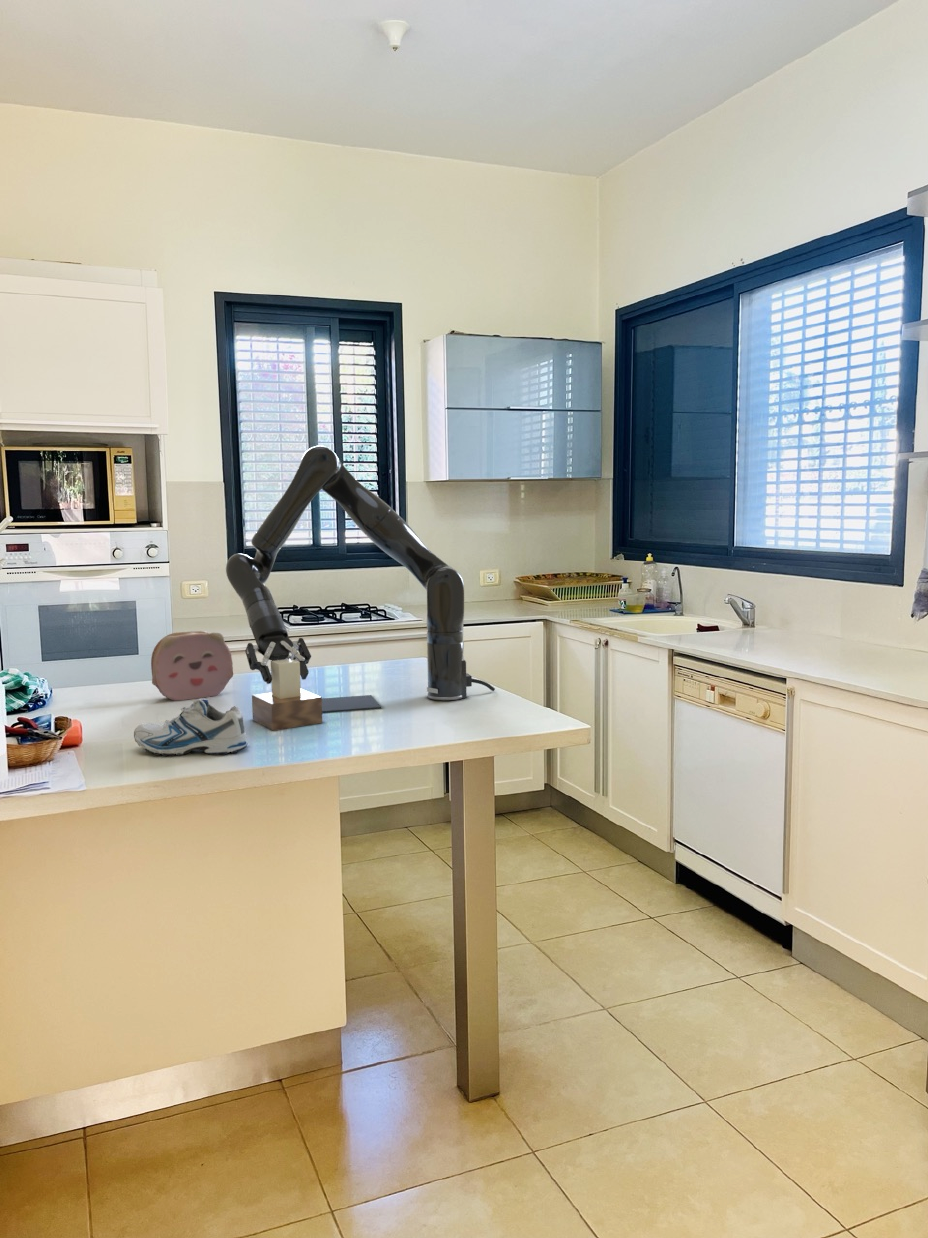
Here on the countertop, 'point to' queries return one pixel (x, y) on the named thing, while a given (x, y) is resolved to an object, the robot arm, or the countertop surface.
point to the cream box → (285, 678)
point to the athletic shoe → (195, 732)
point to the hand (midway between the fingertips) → (287, 679)
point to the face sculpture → (191, 665)
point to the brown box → (287, 710)
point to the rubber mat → (349, 703)
